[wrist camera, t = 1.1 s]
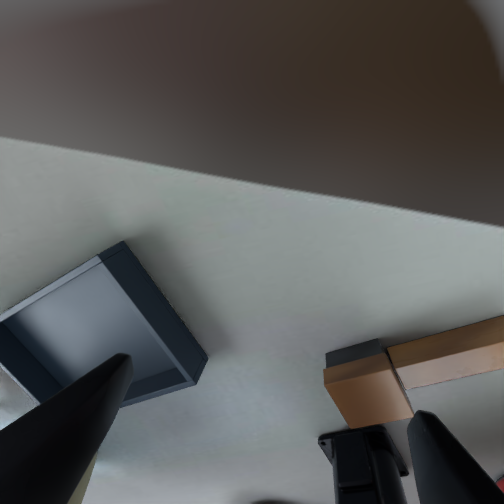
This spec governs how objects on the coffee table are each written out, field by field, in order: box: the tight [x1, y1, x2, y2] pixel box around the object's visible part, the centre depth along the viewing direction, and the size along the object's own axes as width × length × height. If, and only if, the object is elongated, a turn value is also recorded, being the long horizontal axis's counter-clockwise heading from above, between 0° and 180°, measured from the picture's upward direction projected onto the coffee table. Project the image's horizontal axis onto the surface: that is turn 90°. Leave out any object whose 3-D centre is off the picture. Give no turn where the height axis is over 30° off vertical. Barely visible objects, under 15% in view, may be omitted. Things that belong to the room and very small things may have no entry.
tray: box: [0, 241, 208, 408], centre depth 26 cm, size 13×19×3 cm
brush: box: [323, 316, 504, 429], centre depth 20 cm, size 13×5×3 cm, turn 120°
